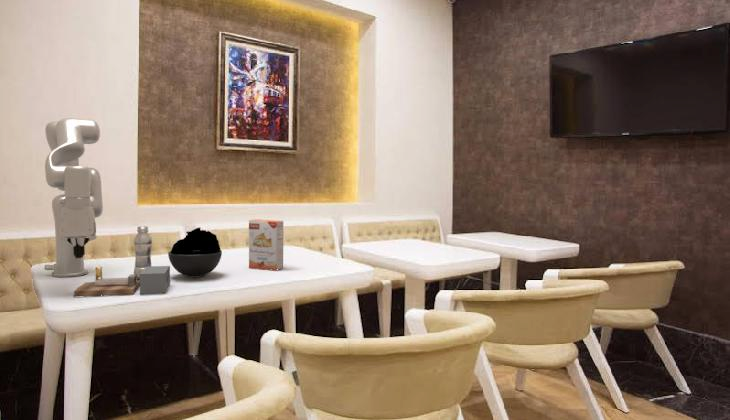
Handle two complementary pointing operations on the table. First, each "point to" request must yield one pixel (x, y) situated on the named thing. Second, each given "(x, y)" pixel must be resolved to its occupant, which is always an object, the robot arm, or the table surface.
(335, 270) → the table surface
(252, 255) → the cracker box
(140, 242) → the plastic bottle
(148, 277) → the block
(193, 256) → the bowl of black rocks
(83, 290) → the brown wooden flat slab
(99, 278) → the bolt
